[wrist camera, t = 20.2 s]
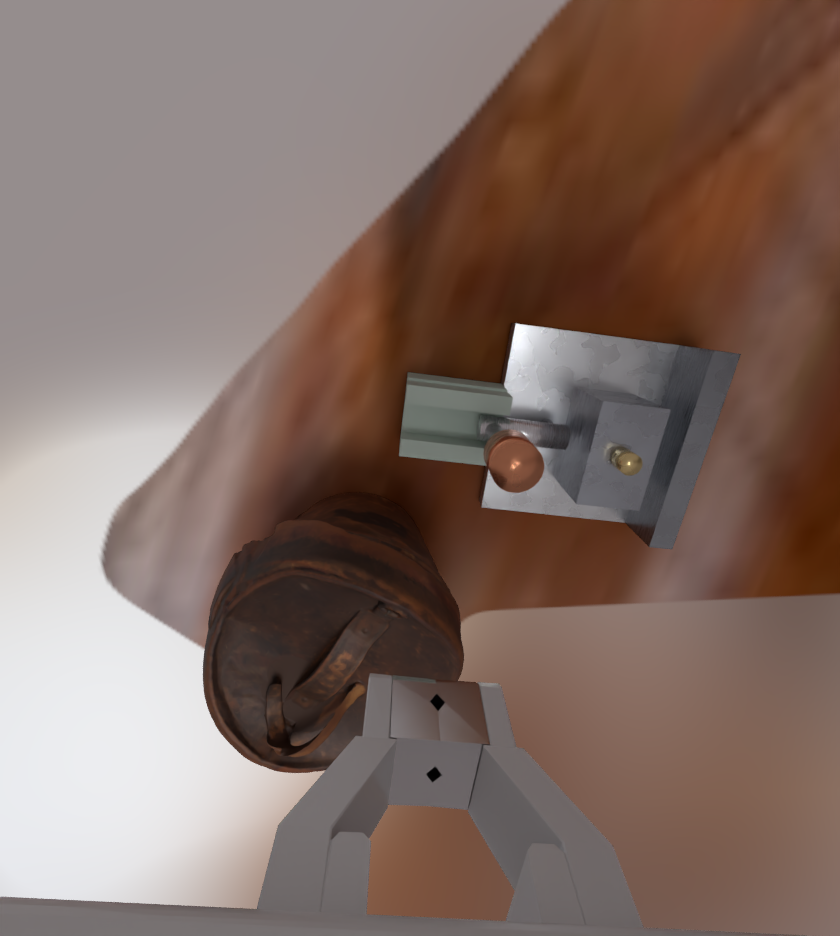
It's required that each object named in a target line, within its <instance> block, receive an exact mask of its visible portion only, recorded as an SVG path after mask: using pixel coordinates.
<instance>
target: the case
mask: <svg viewBox="0 0 840 936" xmlns="http://www.w3.org/2000/svg"><path fill="white" fill-rule="evenodd" d="M208 627H209V629H208V634H207V640H206V645H205V651H204V662H203V684H204V694H205V699H206V703H207V706H208V709H209V712H210V714H211V717H212V719H213V720H214V722H215V725H216V727H217V728H218V730H219V731H220V733H221V734H222V735H223V736H224V737H225V739H226V740H227V741H228V742H229V743H230V744H231V745H232V746H233V747H234V748H235V749H236V750H237V751H238V752H239V753H241V755H243V756H244V757H245V758H247V759H248V760H250V761H252V762H254V763H256V764H258V765H261V766H264V767H267V768H269V769H272V770H274V771H280V772H288V773H308V772H313V771H323V770H327V768H328V767H329V766H330V765H331V764H332V763H333V762H334V760H335V759H336V758H337V757H338V756H339V755H340V753H341V752H342V751H343V750H344V749H345V748H346V747H347V745H348V744H349V743H350V742H351V741H352V740H353V739H354V737H355V736H362V735H363V726H364V717H365V708H366V699H367V690H368V681H369V676H370V673H374V674H382V675H391V676H392V675H397V676H406V677H415V678H425V679H437V680H451V681H458V679H459V677H460V675H461V672H462V669H463V661H464V653H463V646H462V641H461V633H460V628H461V622H460V612H459V608H458V605H457V604H456V601H455V599H454V598H453V596H452V594H451V593H450V590H449V588H448V587H447V585H446V583H445V582H444V580H443V579H442V578H441V576H440V575H439V572H438V570H437V568H436V565H435V563H434V561H433V559H432V557H431V555H430V552H429V550H428V548H427V546H426V544H425V542H424V540H423V538H422V536H421V534H420V532H419V530H418V528H417V526H416V524H415V523H414V521H413V520H412V519H411V517H410V516H409V515H408V514H407V512H406V511H405V510H403V509H402V508H401V507H400V506H398V505H397V504H395V503H393V502H392V501H390V500H388V499H386V498H383V497H380V496H378V495H373V494H369V493H357V492H353V493H344V494H339V495H335V496H332V497H329V498H326V499H324V500H321V501H319V502H318V503H316V504H315V505H313V506H312V507H311V508H309V509H308V510H307V511H306V512H305V513H303V514H302V515H299V516H298V518H297V519H296V520H287V521H283V522H282V523H279V524H277V525H276V528H275V533H274V534H273V535H272V536H270V537H268V538H265V539H264V540H263V541H251V542H250V543H248V544H245V545H244V546H243V548H242V551H240V552H238V553H235V554H234V555H233V557H232V559H231V560H230V562H229V564H228V566H227V568H226V570H225V572H224V574H223V576H222V578H221V580H220V582H219V585H218V587H217V590H216V593H215V596H214V599H213V602H212V605H211V609H210V616H209V623H208Z"/></svg>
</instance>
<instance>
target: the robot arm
mask: <svg viewBox="0 0 840 936" xmlns="http://www.w3.org/2000/svg"><path fill="white" fill-rule="evenodd" d="M388 805H414V806H433V807H444V808H454V809H465V810H468V813H469V814H470V816H471V818H472V820H473V821H474V823H475V825H476V826H477V828H478V829H479V831H480V833H481V835H482V836H483V838H484V840H485V841H486V843H487V845H488V847H489V848H490V850H491V851H492V853H493V855H494V857H495V858H496V860H497V862H498V863H499V865H500V867H501V868H502V870H503V872H504V874H505V875H506V877H507V878H508V880H509V882H510V883H511V885H512V887H513V889H514V890H515V893H514V896H513V899H512V903H511V906H510V909H509V912H508V915H507V918H506V921H491V920H490V921H489V920H470V919H450V918H429V917H408V916H387V915H366V912H367V897H368V881H369V864H370V847H371V841H370V840H369V838H370V836H371V835H372V833H373V831H374V829H375V828H376V826H377V824H378V823H379V821H380V819H381V818H382V816H383V814H384V813H385V811H386V809H387V807H388ZM0 936H805V935H784V934H764V933H763V934H762V933H742V932H721V931H701V930H681V929H659V928H644V927H643V925H642V922H641V919H640V917H639V914H638V911H637V909H636V906H635V904H634V901H633V898H632V896H631V893H630V890H629V888H628V885H627V882H626V880H625V877H624V874H623V872H622V869H621V866H620V864H619V861H618V858H617V856H616V853H615V850H614V848H613V846H612V845H611V844H610V843H609V841H608V840H607V839H606V838H605V837H604V836H603V835H602V834H601V833H600V832H599V830H598V829H597V828H596V827H595V826H594V825H593V824H592V823H591V822H590V821H589V820H588V819H587V817H586V816H585V815H584V814H583V813H582V812H581V811H580V810H579V809H578V807H577V806H576V805H575V804H574V803H573V802H572V801H571V800H570V799H569V798H568V797H567V795H565V793H564V792H563V791H562V790H561V789H560V788H559V787H558V786H557V785H556V783H554V781H553V780H552V779H551V778H550V777H549V776H548V775H547V774H546V773H545V771H544V770H543V769H542V768H541V767H540V766H539V765H538V764H537V763H536V762H535V761H534V760H533V758H532V757H531V756H530V755H529V754H528V753H527V752H526V751H525V750H524V749H523V748H517V747H516V744H515V740H514V735H513V732H512V728H511V723H510V719H509V715H508V712H507V708H506V703H505V700H504V695H503V691H502V687H501V686H500V685H499V684H495V683H481V682H478V683H476V682H464V681H451V680H437V679H425V678H415V677H406V676H397V675H392V676H391V675H382V674H374V673H370V676H369V681H368V690H367V699H366V708H365V717H364V726H363V735H362V736H355V737H354V739H353V740H352V741H351V742H350V743H349V744H348V745H347V747H346V748H345V749H344V750H343V751H342V752H341V753H340V755H339V756H338V757H337V758H336V759H335V760H334V762H333V763H332V764H331V765H330V766H329V767H328V768H327V770H326V771H325V772H324V773H323V774H322V775H321V776H320V778H319V779H318V780H317V781H316V782H315V783H314V785H313V786H312V787H311V788H310V789H309V790H308V792H307V793H306V794H305V795H304V796H303V797H302V798H301V799H300V801H299V802H298V803H297V804H296V805H295V806H294V808H293V809H292V810H291V811H290V812H289V813H288V814H287V816H286V817H285V818H284V819H283V820H282V821H281V823H280V824H279V825H278V828H277V832H276V836H275V840H274V844H273V848H272V852H271V855H270V859H269V863H268V867H267V871H266V875H265V879H264V883H263V886H262V890H261V894H260V898H259V902H258V906H257V909H243V908H221V907H200V906H181V905H160V904H139V903H119V902H98V901H97V902H96V901H78V900H57V899H37V898H15V897H0Z"/></svg>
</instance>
